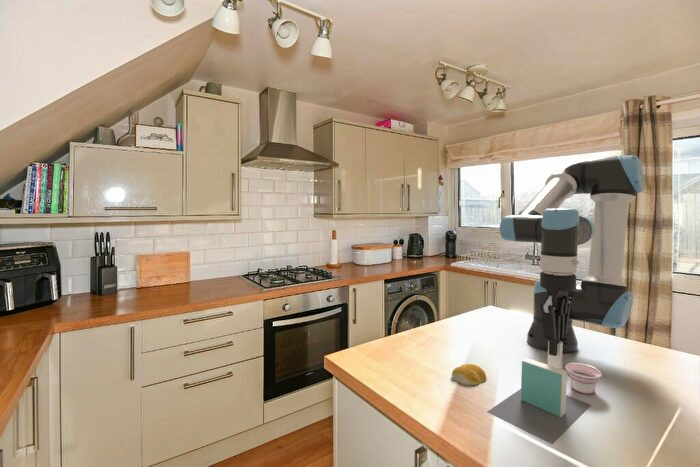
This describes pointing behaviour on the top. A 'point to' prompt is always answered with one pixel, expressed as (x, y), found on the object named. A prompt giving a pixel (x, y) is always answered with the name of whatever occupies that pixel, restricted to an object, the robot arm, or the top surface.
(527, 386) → the tile
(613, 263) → the robot arm
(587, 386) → the teacup
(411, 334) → the top surface
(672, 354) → the top surface
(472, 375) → the bread roll
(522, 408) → the mat
